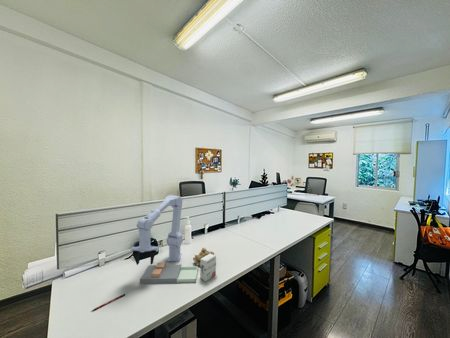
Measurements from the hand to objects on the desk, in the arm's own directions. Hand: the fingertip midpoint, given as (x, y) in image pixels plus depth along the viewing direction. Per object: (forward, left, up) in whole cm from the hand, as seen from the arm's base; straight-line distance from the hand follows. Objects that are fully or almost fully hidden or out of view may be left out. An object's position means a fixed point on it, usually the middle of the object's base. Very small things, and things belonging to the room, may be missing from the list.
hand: (144, 263), depth 99 cm
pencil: (+16, -10, -10) cm, 22 cm away
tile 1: (-7, +7, -6) cm, 11 cm away
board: (-4, +9, -9) cm, 13 cm away
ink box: (-2, +36, -10) cm, 37 cm away
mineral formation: (-16, +33, -10) cm, 38 cm away
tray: (-3, +24, -9) cm, 26 cm away
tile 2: (-1, +7, -6) cm, 9 cm away
